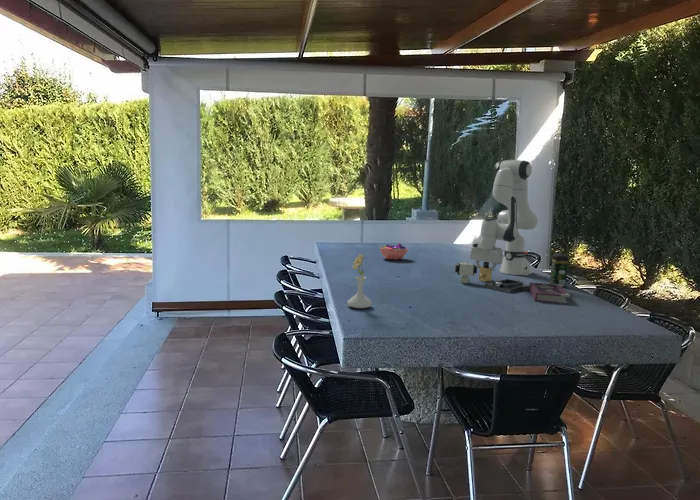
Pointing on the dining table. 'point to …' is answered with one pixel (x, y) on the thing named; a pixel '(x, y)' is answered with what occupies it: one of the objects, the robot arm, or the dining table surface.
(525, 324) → the dining table surface
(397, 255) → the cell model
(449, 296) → the dining table surface
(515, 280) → the plate
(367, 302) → the flower in vase
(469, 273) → the pneumatic valve
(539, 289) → the book
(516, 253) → the robot arm
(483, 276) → the brass valve
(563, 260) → the coffee jar
